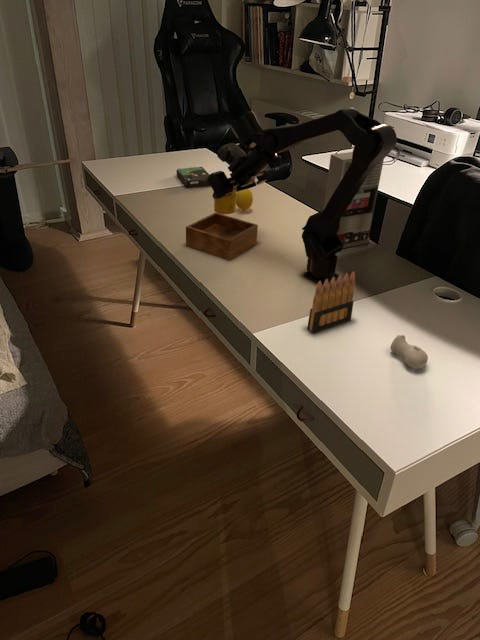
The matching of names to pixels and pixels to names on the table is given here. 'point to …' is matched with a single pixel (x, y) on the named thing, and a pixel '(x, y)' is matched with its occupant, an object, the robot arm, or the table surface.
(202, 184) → the disk drive
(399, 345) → the pale two-lobed sculpture
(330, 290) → the ammunition clip
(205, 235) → the wooden tray
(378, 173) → the labelled white carton
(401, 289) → the table surface
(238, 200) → the lemon
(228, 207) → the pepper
